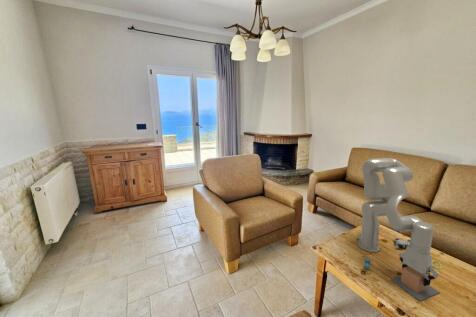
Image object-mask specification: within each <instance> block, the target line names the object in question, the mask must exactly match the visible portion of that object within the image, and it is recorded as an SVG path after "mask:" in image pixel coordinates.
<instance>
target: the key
mask: <svg viewBox="0 0 476 317" xmlns="http://www.w3.org/2000/svg"><path fill="white" fill-rule="evenodd" d="M434 264H438V265H439V267H437V266H435V265H434ZM432 268H433V269H434V270H442V269H443V265H442V264H441V263H440V262H439V261H437V260H432Z"/></svg>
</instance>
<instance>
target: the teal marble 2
mask: <svg viewBox="0 0 476 317" xmlns="http://www.w3.org/2000/svg"><path fill="white" fill-rule="evenodd" d="M363 267H364V268H365V270H370V269H371V265H370V263H366V262H365V263H364V265H363Z"/></svg>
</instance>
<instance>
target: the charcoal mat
mask: <svg viewBox="0 0 476 317" xmlns="http://www.w3.org/2000/svg"><path fill="white" fill-rule="evenodd" d="M401 276H402V274H399V275H397V276H394V277H392V278H390V279H389V281H391V282H392V283H394V284H395V285H396V286H397V287H399V288H400V289H401V290H403V291H405V292H406V293H407V294H409V295H410V296H412V298H414V299H416V300H417V301H419V302H420V303H421V302H423V301H424V300H428V299H429V298H432V297H434V296H437V295H439V294H440V293H441V292H440V291H439V290H437V289H435V288H434V287H432V286H431V285H428V286H427V289H425V290H422V291H420V292H418V293H416V292H415V291H414V290H412V289H411V288H409V287H408V286H406V285H405V284H403V283H402V282H401Z"/></svg>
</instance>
